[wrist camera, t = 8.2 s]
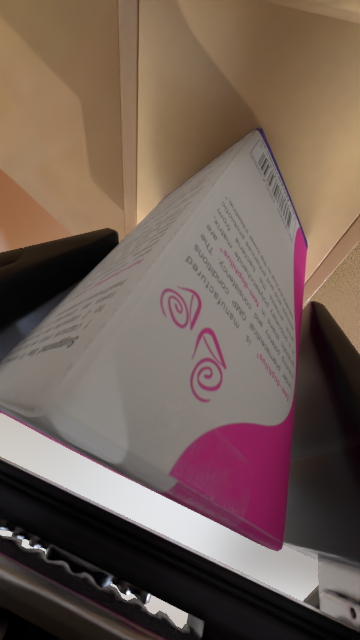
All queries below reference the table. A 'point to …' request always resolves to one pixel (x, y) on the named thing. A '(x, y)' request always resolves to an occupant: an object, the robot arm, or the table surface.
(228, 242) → the supplement box
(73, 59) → the table surface
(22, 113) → the table surface
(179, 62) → the shelf
